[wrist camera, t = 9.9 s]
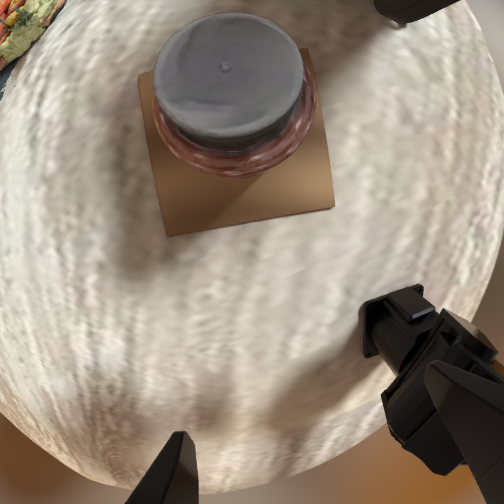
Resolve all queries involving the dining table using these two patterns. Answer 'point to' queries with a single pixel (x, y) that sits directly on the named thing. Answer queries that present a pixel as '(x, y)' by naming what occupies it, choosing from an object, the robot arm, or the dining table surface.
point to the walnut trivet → (237, 179)
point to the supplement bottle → (232, 95)
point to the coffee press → (410, 9)
